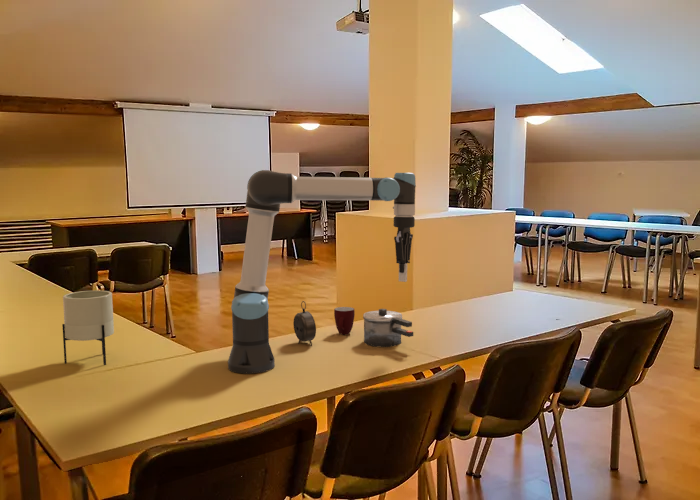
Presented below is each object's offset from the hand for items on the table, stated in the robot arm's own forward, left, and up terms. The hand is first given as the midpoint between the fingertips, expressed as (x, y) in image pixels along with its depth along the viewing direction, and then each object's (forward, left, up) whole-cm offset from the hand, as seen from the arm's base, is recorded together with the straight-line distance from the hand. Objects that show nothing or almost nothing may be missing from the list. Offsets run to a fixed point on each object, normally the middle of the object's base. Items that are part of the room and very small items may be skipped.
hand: (402, 281), depth 221 cm
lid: (-2, +5, -15) cm, 16 cm away
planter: (-96, +51, -25) cm, 112 cm away
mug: (-6, +28, -25) cm, 38 cm away
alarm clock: (-26, +26, -25) cm, 44 cm away
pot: (-1, +5, -25) cm, 25 cm away
